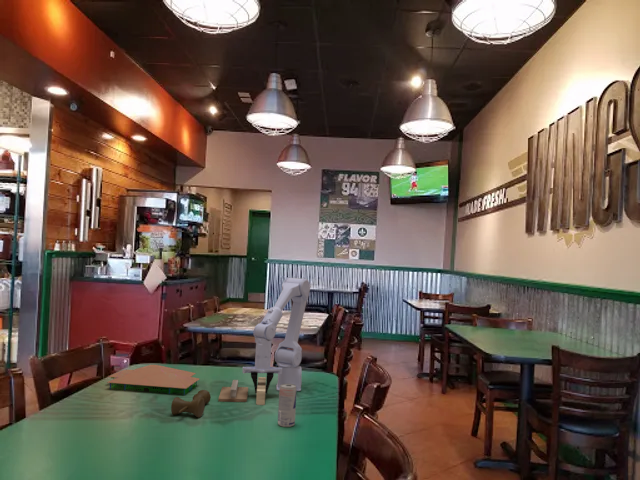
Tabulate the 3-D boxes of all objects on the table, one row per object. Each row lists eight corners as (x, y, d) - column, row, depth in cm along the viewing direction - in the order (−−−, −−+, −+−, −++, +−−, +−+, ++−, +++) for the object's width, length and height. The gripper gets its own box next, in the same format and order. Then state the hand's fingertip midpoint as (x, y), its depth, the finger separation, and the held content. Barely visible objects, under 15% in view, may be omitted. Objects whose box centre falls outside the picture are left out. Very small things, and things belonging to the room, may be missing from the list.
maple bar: (257, 390, 191) (258, 377, 192) (265, 390, 192) (266, 377, 192) (256, 405, 172) (256, 391, 172) (264, 405, 172) (265, 391, 172)
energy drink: (295, 422, 155) (297, 384, 156) (293, 428, 150) (295, 388, 150) (279, 420, 156) (281, 382, 156) (276, 426, 150) (278, 387, 151)
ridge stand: (248, 389, 190) (248, 379, 190) (246, 402, 174) (247, 390, 174) (222, 389, 189) (222, 378, 189) (218, 401, 173) (218, 390, 173)
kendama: (217, 406, 170) (193, 423, 150) (190, 404, 171) (164, 421, 151) (217, 388, 170) (194, 403, 150) (191, 387, 172) (165, 401, 152)
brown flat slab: (129, 376, 204) (130, 356, 204) (206, 382, 201) (207, 362, 201) (99, 390, 181) (100, 368, 181) (185, 397, 178) (186, 374, 178)
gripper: (243, 357, 177) (241, 395, 177) (283, 358, 179) (281, 396, 179) (243, 353, 184) (241, 390, 184) (282, 354, 186) (280, 390, 186)
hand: (261, 392), depth 182 cm, fingers closed on maple bar, 3 cm apart
